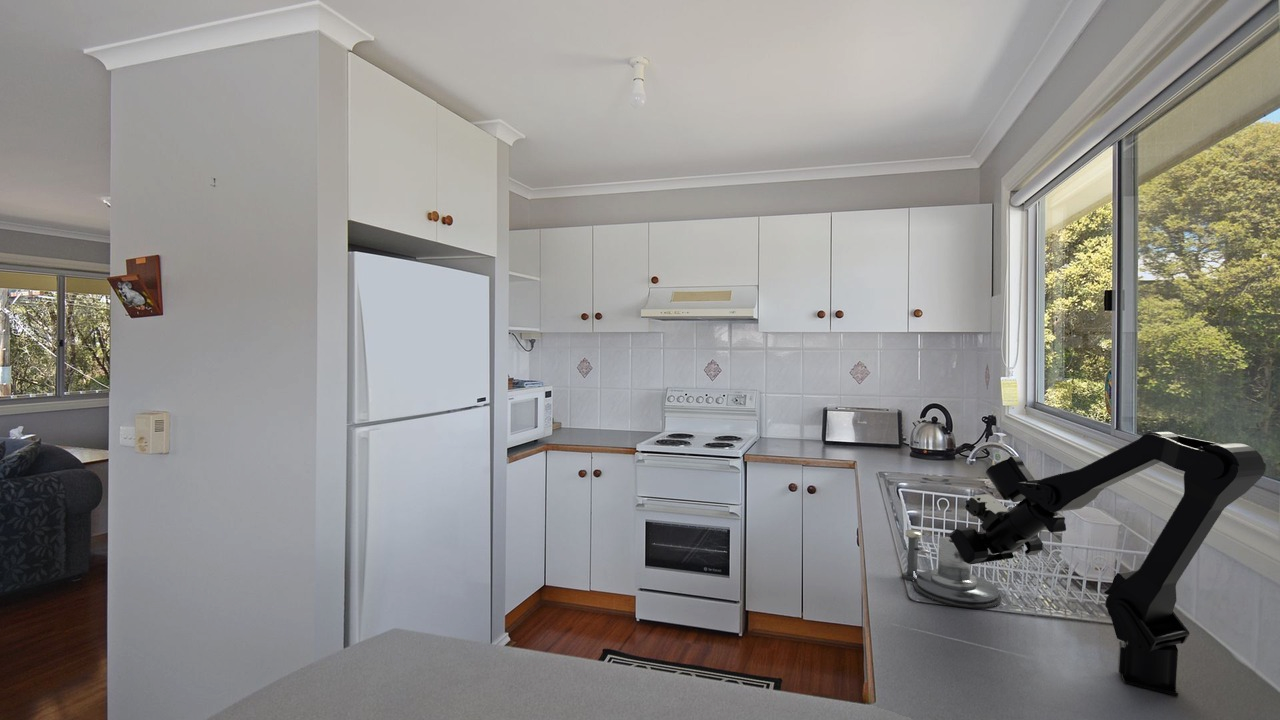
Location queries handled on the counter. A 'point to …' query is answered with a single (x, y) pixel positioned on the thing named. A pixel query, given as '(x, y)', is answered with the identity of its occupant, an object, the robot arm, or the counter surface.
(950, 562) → the cover
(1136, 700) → the counter surface
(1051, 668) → the counter surface
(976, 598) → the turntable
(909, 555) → the stand
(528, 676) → the counter surface
